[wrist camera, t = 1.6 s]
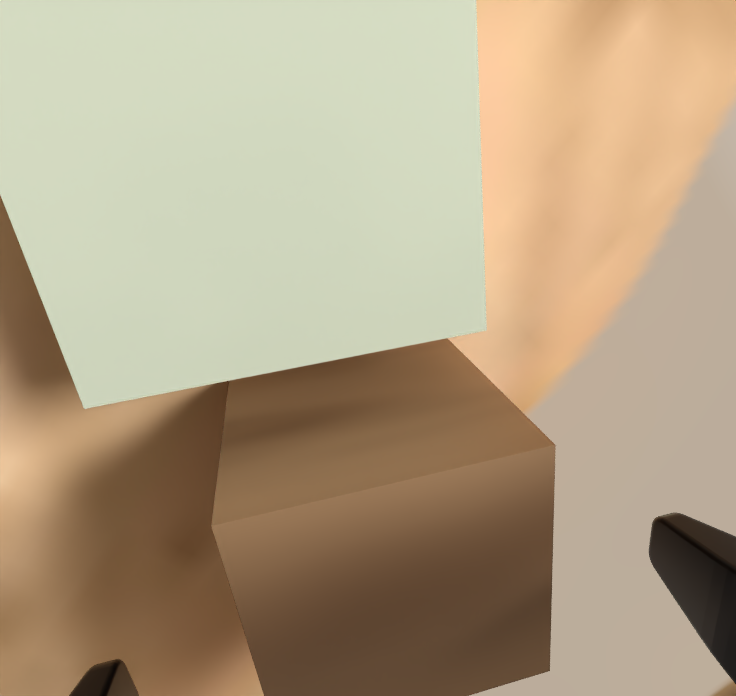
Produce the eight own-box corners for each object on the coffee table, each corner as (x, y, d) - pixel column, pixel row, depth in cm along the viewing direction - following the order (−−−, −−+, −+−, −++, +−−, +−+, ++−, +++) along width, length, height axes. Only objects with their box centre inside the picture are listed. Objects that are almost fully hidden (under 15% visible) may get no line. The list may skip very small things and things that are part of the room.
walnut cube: (453, 500, 14) (549, 670, 9) (273, 544, 13) (281, 752, 9) (441, 332, 12) (555, 444, 7) (229, 374, 11) (211, 526, 7)
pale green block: (441, 294, 11) (486, 330, 9) (121, 352, 10) (83, 409, 8) (415, -90, 9) (470, -173, 6) (-19, -60, 8) (-134, -146, 5)
